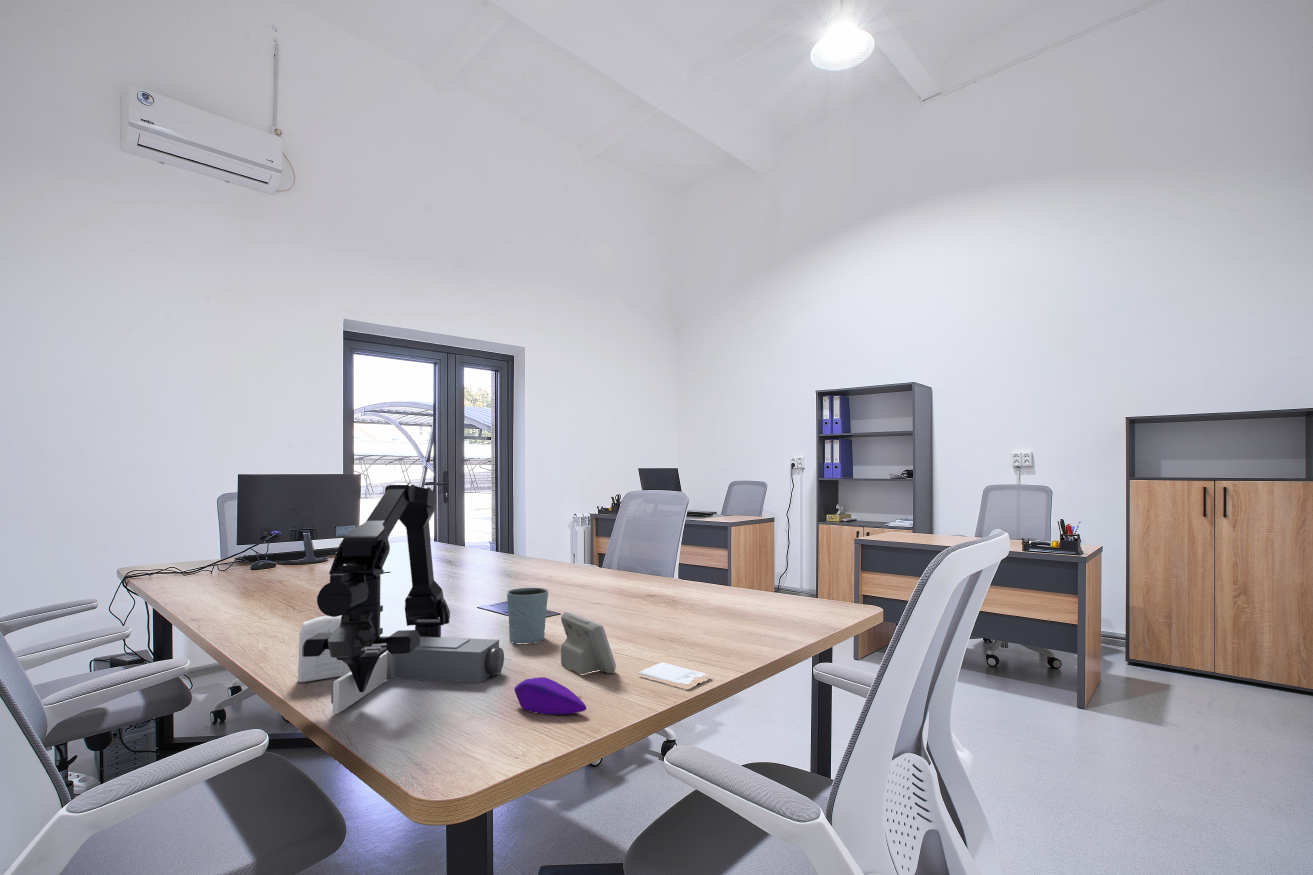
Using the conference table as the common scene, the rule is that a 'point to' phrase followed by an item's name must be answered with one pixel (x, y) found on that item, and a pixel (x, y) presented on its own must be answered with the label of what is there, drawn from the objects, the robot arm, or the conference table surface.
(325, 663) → the white upright block
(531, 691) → the purple teardrop stone
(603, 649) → the digital clock
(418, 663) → the camera housing
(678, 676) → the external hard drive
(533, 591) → the teal cup
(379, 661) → the side door
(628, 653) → the conference table surface
